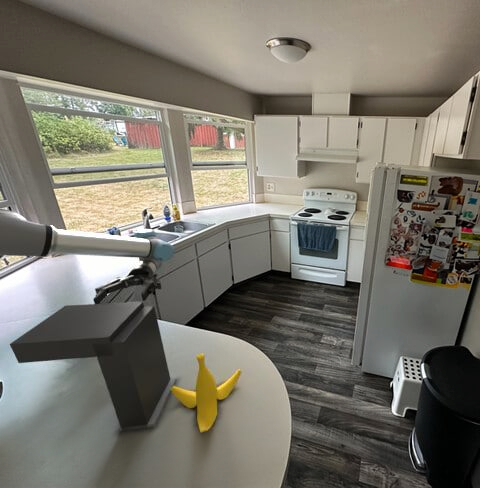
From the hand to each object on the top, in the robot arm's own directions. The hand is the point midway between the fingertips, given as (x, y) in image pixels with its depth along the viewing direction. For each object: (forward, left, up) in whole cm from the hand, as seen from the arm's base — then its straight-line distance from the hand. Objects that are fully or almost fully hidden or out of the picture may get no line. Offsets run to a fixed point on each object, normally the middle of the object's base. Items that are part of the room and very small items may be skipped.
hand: (119, 299), depth 85 cm
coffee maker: (+11, -26, -18) cm, 34 cm away
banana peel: (+34, -30, -19) cm, 49 cm away
